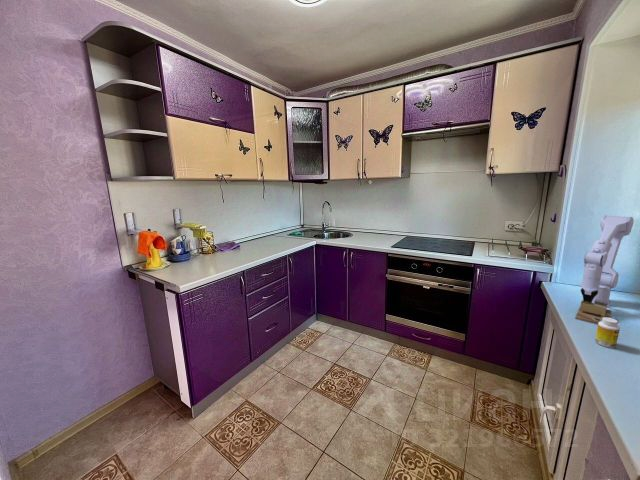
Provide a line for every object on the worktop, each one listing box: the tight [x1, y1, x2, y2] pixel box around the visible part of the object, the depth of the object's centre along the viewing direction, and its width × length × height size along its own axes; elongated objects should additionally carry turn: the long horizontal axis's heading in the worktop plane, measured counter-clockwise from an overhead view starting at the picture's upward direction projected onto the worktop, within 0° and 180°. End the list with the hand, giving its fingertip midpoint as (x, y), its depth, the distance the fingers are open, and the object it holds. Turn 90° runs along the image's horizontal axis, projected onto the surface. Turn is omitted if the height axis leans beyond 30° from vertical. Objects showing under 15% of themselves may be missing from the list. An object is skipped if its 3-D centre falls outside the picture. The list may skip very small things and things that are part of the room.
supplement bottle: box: [594, 317, 621, 349], centre depth 99 cm, size 6×6×10 cm
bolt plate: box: [574, 307, 612, 326], centre depth 121 cm, size 19×10×1 cm, turn 130°
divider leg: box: [579, 300, 608, 316], centre depth 120 cm, size 3×8×5 cm, turn 40°
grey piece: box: [594, 299, 608, 322], centre depth 119 cm, size 16×4×5 cm, turn 130°
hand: (586, 304), depth 125 cm, fingers closed
